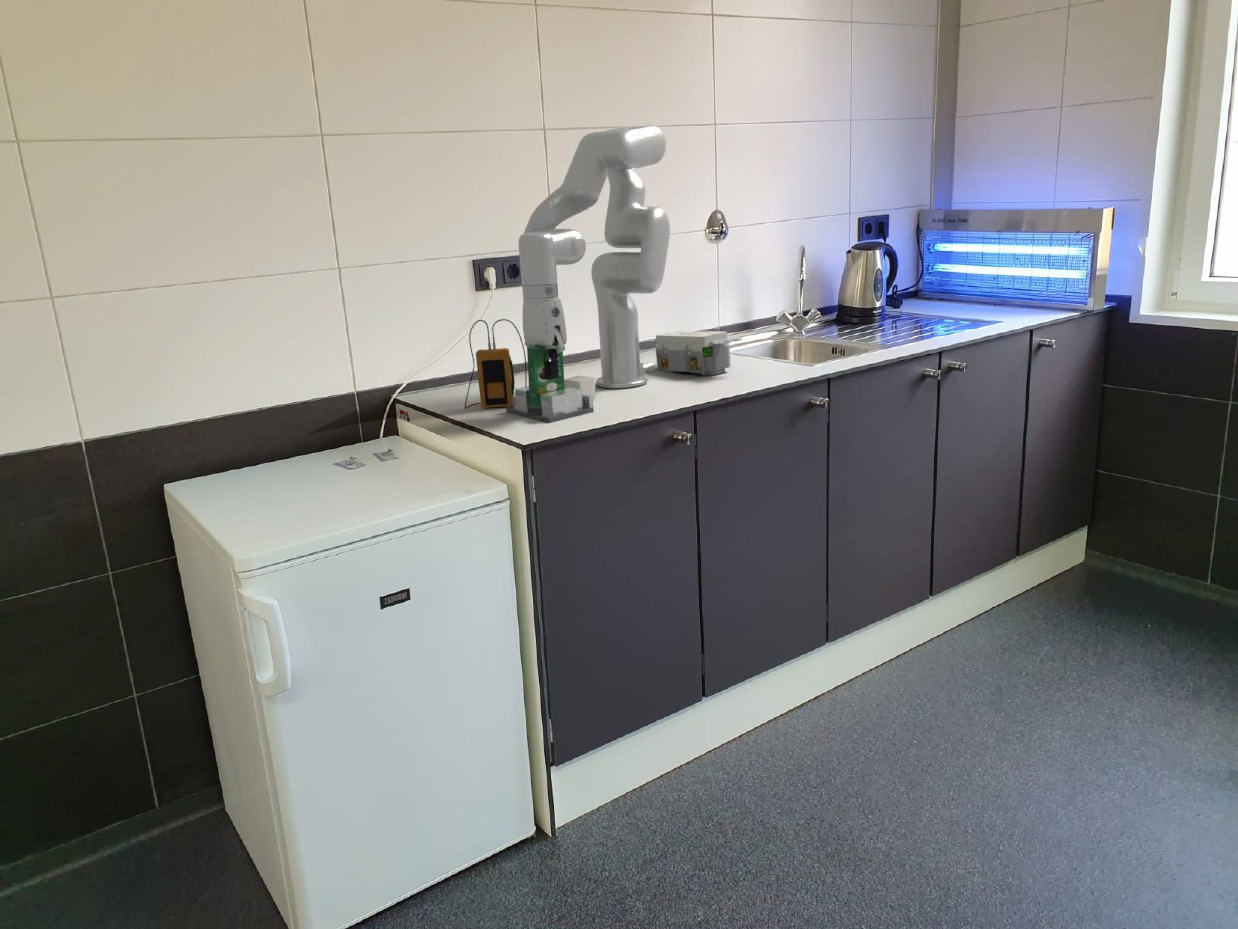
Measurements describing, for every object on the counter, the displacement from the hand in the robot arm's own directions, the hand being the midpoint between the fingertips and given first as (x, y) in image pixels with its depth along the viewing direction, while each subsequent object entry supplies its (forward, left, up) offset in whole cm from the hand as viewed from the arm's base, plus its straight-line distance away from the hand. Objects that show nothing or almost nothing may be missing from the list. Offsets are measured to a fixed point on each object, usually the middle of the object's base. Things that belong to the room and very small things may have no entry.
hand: (547, 376), depth 200 cm
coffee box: (0, 0, -6) cm, 6 cm away
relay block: (-12, -4, -8) cm, 15 cm away
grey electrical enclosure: (-51, -6, -8) cm, 51 cm away
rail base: (0, 0, -8) cm, 8 cm away
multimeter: (+2, -17, -8) cm, 19 cm away
